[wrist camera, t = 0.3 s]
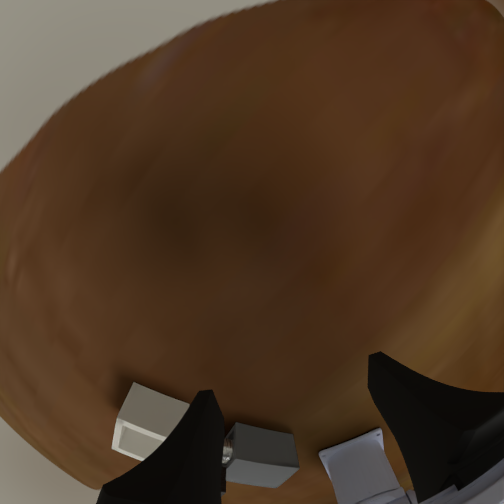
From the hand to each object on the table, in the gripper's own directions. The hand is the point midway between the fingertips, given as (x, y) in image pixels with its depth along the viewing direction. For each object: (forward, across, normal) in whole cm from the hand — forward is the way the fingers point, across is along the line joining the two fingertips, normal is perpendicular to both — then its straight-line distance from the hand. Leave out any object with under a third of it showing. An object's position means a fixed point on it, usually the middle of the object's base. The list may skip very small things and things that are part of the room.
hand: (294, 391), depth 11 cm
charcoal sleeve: (+10, +5, +16) cm, 20 cm away
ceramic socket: (+10, +14, +10) cm, 19 cm away
